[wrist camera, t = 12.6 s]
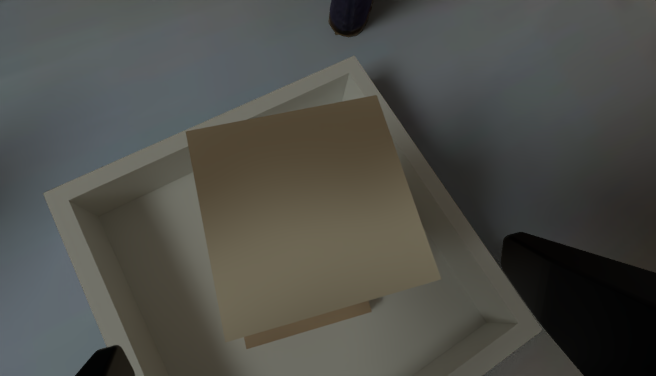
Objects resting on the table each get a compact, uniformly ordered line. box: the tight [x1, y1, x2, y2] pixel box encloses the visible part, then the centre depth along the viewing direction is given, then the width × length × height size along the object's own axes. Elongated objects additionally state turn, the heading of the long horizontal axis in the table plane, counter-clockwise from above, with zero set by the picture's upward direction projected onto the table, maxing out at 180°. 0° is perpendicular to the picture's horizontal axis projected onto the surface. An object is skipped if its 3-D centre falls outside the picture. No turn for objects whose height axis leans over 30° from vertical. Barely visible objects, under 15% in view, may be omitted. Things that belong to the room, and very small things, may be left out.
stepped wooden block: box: [185, 95, 441, 349], centre depth 14 cm, size 6×6×12 cm
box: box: [43, 56, 542, 376], centre depth 19 cm, size 16×16×4 cm
